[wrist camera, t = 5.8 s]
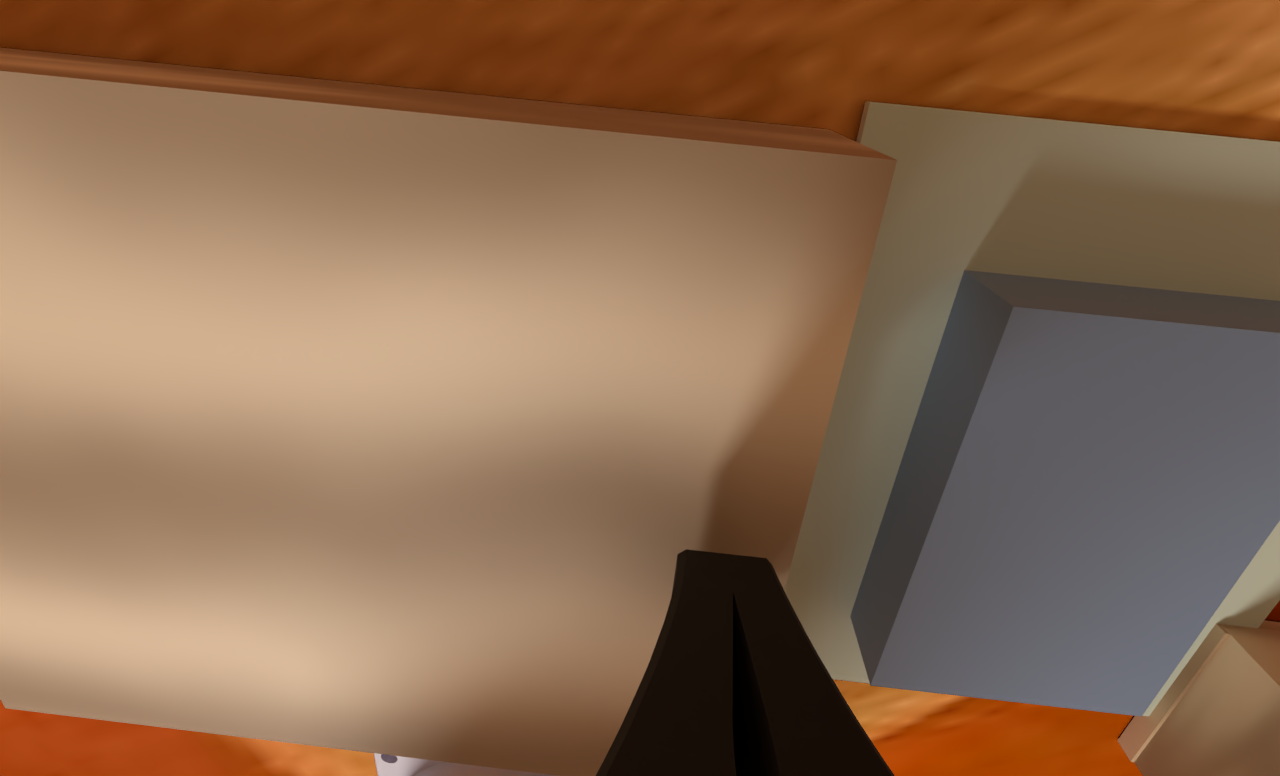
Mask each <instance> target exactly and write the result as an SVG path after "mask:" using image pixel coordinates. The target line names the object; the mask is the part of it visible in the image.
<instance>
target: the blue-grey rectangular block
mask: <svg viewBox="0 0 1280 776" xmlns="http://www.w3.org/2000/svg"><path fill="white" fill-rule="evenodd" d="M1279 521H1280V301H1275V300H1265V299H1255V298H1245V297H1234V296H1224V295H1214V294H1204V293H1193V292H1183V291H1173V290H1163V289H1153V288H1142V287H1132V286H1122V285H1112V284H1101V283H1091V282H1081V281H1071V280H1061V279H1050V278H1040V277H1030V276H1020V275H1009V274H999V273H989V272H979V271H969V270H964V272H963V275H962V278H961V281H960V284H959V287H958V290H957V293H956V297H955V300H954V303H953V306H952V309H951V312H950V315H949V318H948V321H947V324H946V327H945V330H944V333H943V336H942V339H941V342H940V345H939V348H938V351H937V354H936V357H935V360H934V363H933V366H932V369H931V372H930V375H929V378H928V381H927V384H926V387H925V391H924V394H923V397H922V400H921V403H920V406H919V409H918V412H917V415H916V418H915V421H914V424H913V427H912V430H911V433H910V436H909V439H908V442H907V445H906V448H905V451H904V454H903V457H902V460H901V463H900V466H899V469H898V472H897V475H896V478H895V482H894V485H893V488H892V491H891V494H890V497H889V500H888V503H887V506H886V509H885V512H884V515H883V518H882V521H881V524H880V527H879V530H878V533H877V536H876V539H875V542H874V545H873V548H872V551H871V554H870V557H869V560H868V563H867V566H866V569H865V573H864V576H863V579H862V582H861V585H860V588H859V591H858V594H857V597H856V600H855V603H854V606H853V609H852V612H851V615H850V618H851V621H852V624H853V628H854V631H855V635H856V638H857V641H858V645H859V648H860V652H861V655H862V658H863V662H864V665H865V669H866V672H867V676H868V679H869V682H870V685H871V686H879V687H888V688H897V689H906V690H914V691H923V692H932V693H941V694H949V695H958V696H967V697H976V698H985V699H993V700H1002V701H1011V702H1020V703H1028V704H1037V705H1046V706H1055V707H1063V708H1072V709H1081V710H1090V711H1099V712H1107V713H1116V714H1125V715H1134V716H1142V715H1143V714H1144V713H1145V711H1146V710H1147V708H1148V707H1149V705H1150V704H1151V703H1152V701H1153V700H1154V698H1155V697H1156V696H1157V694H1158V693H1159V691H1160V690H1161V688H1162V687H1163V686H1164V684H1165V683H1166V681H1167V680H1168V679H1169V677H1170V676H1171V674H1172V673H1173V671H1174V670H1175V669H1176V667H1177V666H1178V664H1179V663H1180V661H1181V660H1182V659H1183V657H1184V656H1185V654H1186V653H1187V652H1188V650H1189V649H1190V647H1191V646H1192V644H1193V643H1194V642H1195V640H1196V639H1197V637H1198V636H1199V634H1200V633H1201V632H1202V630H1203V629H1204V627H1205V626H1206V625H1207V623H1208V622H1209V620H1210V619H1211V617H1212V616H1213V615H1214V613H1215V612H1216V610H1217V609H1218V608H1219V606H1220V605H1221V603H1222V602H1223V600H1224V599H1225V598H1226V596H1227V595H1228V593H1229V592H1230V590H1231V589H1232V588H1233V586H1234V585H1235V583H1236V582H1237V581H1238V579H1239V578H1240V576H1241V575H1242V573H1243V572H1244V571H1245V569H1246V568H1247V566H1248V565H1249V564H1250V562H1251V561H1252V559H1253V558H1254V556H1255V555H1256V554H1257V552H1258V551H1259V549H1260V548H1261V546H1262V545H1263V544H1264V542H1265V541H1266V539H1267V538H1268V537H1269V535H1270V534H1271V532H1272V531H1273V529H1274V528H1275V527H1276V525H1277V524H1278V522H1279Z"/></svg>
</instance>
